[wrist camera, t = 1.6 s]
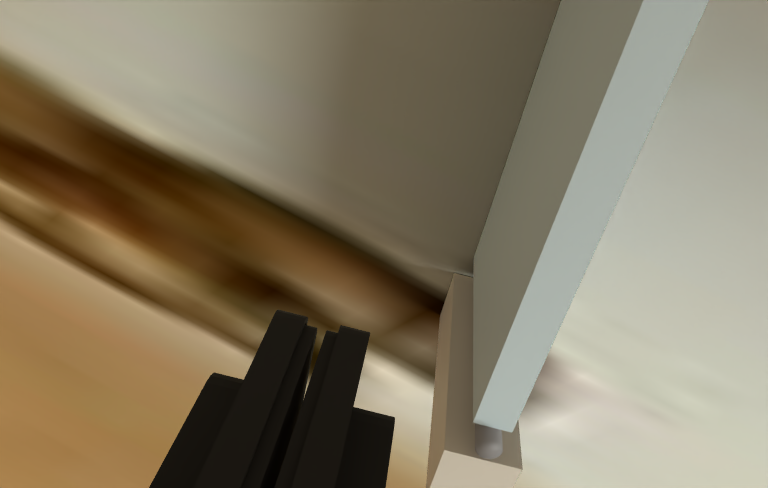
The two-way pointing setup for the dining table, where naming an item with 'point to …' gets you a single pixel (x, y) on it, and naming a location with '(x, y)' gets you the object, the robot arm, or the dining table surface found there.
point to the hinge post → (462, 406)
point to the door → (564, 186)
